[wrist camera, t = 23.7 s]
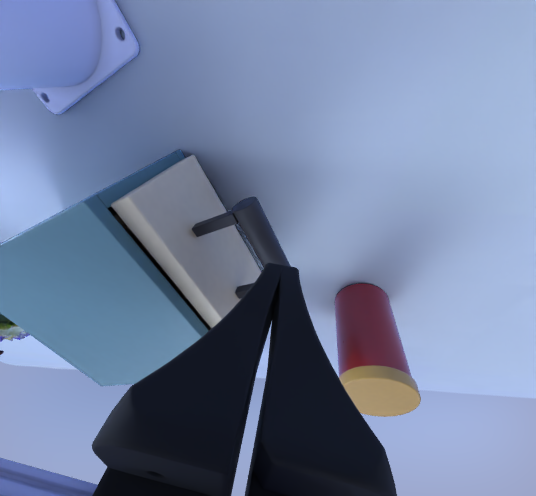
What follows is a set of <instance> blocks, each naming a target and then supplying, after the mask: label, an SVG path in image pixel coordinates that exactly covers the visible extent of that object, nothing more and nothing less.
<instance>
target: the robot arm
mask: <svg viewBox="0 0 536 496" xmlns="http://www.w3.org/2000/svg"><path fill="white" fill-rule="evenodd" d="M121 29H122V30H123V31H124V33H125V38H124V40H123V39H122V38H121V35H120V31H121ZM138 54H139V44H138V42H137V40H136V38H135V36H134V34H133V32H132V31H131V29H130V27H129V25H128V24H127V22H126V20H125V18H124V16H123V15H122V13H121V11H120V9H119V7H118V6H117V4H116V2H115V0H0V90H15V89H32V90H33V91H34V92H35V94H36V95H37V96H38V97H39V99H40V100H41V101H42V102H43V104H44V105H45V106H46V108H47V109H48V110H49V111H50V112H51V113H53V114H56V115H57V114H62V113H64V112H65V111H66V110H67V109H69V108H70V107H71V106H73V105H74V104H75V103H76V102H78V101H79V100H80V99H82V98H83V97H84V96H86V95H87V94H88V93H89V92H91V91H92V90H93V89H95V88H96V87H97V86H99V85H100V84H101V83H102V82H104V81H105V80H106V79H108V78H109V77H110V76H111V75H113V74H114V73H115V72H117V71H118V70H119V69H121V68H122V67H123V66H124V65H126V64H127V63H128V62H130V61H131V60H132V59H133V58H135V57H136V56H137V55H138ZM47 95H48V97H49V99H48V97H47ZM271 321H272V327H271V337H270V348H269V358H268V368H267V376H266V382H265V388H264V393H263V399H262V404H261V410H260V415H259V421H258V426H257V432H256V437H255V443H254V448H253V453H252V459H251V465H250V470H249V475H248V481H247V486H246V491H245V496H397V494H396V488H395V483H394V480H393V476H392V472H391V468H390V465H389V462H388V458H387V455H386V452H385V449H384V447H383V446H382V444H381V443H380V441H379V440H378V439H377V437H376V436H375V434H374V433H373V431H372V430H371V429H370V427H369V426H368V424H367V423H366V421H365V420H364V418H363V417H362V415H361V414H360V412H359V411H358V409H357V407H356V406H355V404H354V403H353V401H352V400H351V398H350V396H349V395H348V393H347V392H346V390H345V388H344V386H343V385H342V383H341V381H340V379H339V378H338V376H337V374H336V372H335V371H334V369H333V367H332V365H331V363H330V361H329V359H328V357H327V355H326V353H325V351H324V349H323V347H322V345H321V343H320V341H319V339H318V336H317V334H316V331H315V329H314V326H313V324H312V321H311V319H310V316H309V313H308V310H307V307H306V303H305V300H304V297H303V293H302V289H301V284H300V279H299V270H298V269H297V268H295V267H290V266H284V265H279V264H274V263H267V264H266V265H265V267H264V269H263V271H262V272H261V274H260V275H259V277H258V278H257V280H256V281H255V283H254V284H253V285H252V286H251V288H250V289H249V290H248V292H247V293H246V294H245V295H244V296H243V298H242V299H241V300H240V301H239V302H238V303H237V304H236V305H235V306H234V308H233V309H232V310H231V311H230V312H229V313H228V314H227V315H226V316H225V317H224V318H223V319H222V320H221V321H220V322H218V323H217V324H216V325H215V326H214V327H213V328H212V329H211V330H209V331H208V332H207V333H206V334H205V335H204V336H202V337H201V338H200V339H199V340H198V341H196V342H195V343H194V344H193V345H191V346H190V347H188V348H187V349H186V350H184V351H183V352H182V353H180V354H179V355H178V356H176V357H175V358H173V359H172V360H171V361H169V362H168V363H166V364H165V365H163V366H162V367H160V368H159V369H157V370H156V371H154V372H152V373H151V374H149V375H148V376H146V377H145V378H143V379H142V380H140V381H138V382H137V383H135V384H134V385H132V386H131V387H130V388H129V390H128V391H127V392H126V393H125V395H124V396H123V397H122V399H121V400H120V401H119V403H118V404H117V405H116V406H115V408H114V409H113V410H112V412H111V414H110V415H109V417H108V418H107V420H106V422H105V423H104V425H103V426H102V428H101V430H100V431H99V433H98V435H97V436H96V438H95V440H94V441H93V444H92V449H93V451H94V453H95V454H96V455H97V456H98V457H99V458H100V459H101V460H102V461H103V462H104V464H106V465H107V469H106V471H105V473H104V475H103V477H102V479H101V480H100V482H99V484H98V485H96V484H93V483H89V482H86V481H82V480H78V479H75V478H71V477H68V476H64V475H60V474H57V473H53V472H50V471H46V470H43V469H39V468H35V467H32V466H28V465H25V464H21V463H17V462H13V461H10V460H6V459H3V458H0V496H231V493H232V488H233V483H234V478H235V473H236V468H237V463H238V458H239V453H240V449H241V444H242V438H243V434H244V429H245V424H246V419H247V415H248V410H249V405H250V400H251V395H252V391H253V386H254V381H255V377H256V373H257V369H258V365H259V362H260V358H261V355H262V352H263V348H264V345H265V341H266V338H267V335H268V331H269V328H270V325H271Z"/></svg>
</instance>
